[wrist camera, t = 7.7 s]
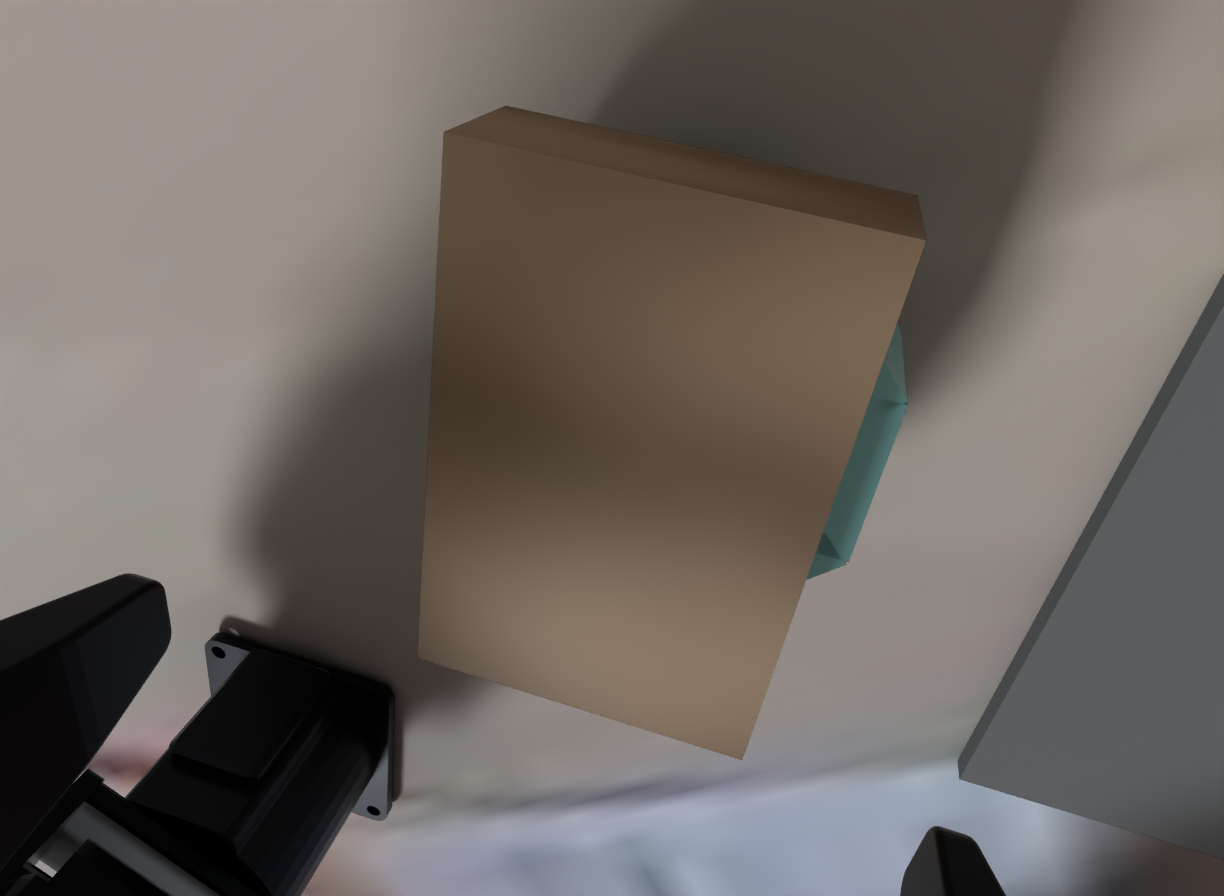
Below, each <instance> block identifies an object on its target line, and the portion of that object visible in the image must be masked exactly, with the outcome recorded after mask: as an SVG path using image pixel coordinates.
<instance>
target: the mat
mask: <svg viewBox="0 0 1224 896" xmlns="http://www.w3.org/2000/svg"><path fill="white" fill-rule="evenodd" d="M958 770H959V779H961V780H964V781H967V782H971V783H974V784H977V785H980V786H984V787H987V788H990V789H994V790H997V791H1000V792H1004V793H1007V794H1010V795H1013V796H1017V797H1020V798H1023V799H1027V800H1030V801H1033V802H1037V803H1040V804H1043V805H1046V806H1050V807H1053V808H1056V809H1060V810H1063V811H1066V812H1069V813H1073V814H1076V815H1079V816H1083V817H1086V818H1089V819H1093V820H1096V821H1099V822H1102V823H1106V824H1109V825H1112V826H1116V827H1119V828H1122V829H1126V830H1129V831H1132V832H1135V833H1139V834H1142V835H1145V836H1149V837H1152V838H1155V839H1158V840H1162V841H1165V842H1168V843H1172V844H1175V845H1178V846H1182V847H1185V848H1188V849H1191V850H1195V851H1198V852H1201V853H1205V854H1208V855H1211V856H1215V857H1218V858H1221V859H1224V275H1223V277H1222V278H1221V280H1220V282H1219V284H1218V286H1217V288H1216V289H1215V291H1214V293H1213V295H1212V297H1211V299H1210V300H1209V302H1208V304H1207V306H1206V308H1205V309H1204V311H1203V313H1202V315H1201V317H1200V319H1199V320H1198V322H1197V324H1196V326H1195V328H1194V330H1193V331H1192V333H1191V335H1190V337H1189V339H1188V341H1187V342H1186V344H1185V346H1184V348H1183V350H1182V352H1181V353H1180V355H1179V357H1178V359H1177V361H1176V363H1175V364H1174V366H1173V368H1172V370H1171V372H1170V374H1169V375H1168V377H1167V379H1166V381H1165V383H1164V385H1163V386H1162V388H1161V390H1160V392H1159V394H1158V395H1157V397H1156V399H1155V401H1154V403H1153V405H1152V406H1151V408H1150V410H1149V412H1148V414H1147V416H1146V417H1145V419H1144V421H1143V423H1142V425H1141V427H1140V428H1139V430H1138V432H1137V434H1136V436H1135V438H1134V439H1133V441H1132V443H1131V445H1130V447H1129V449H1128V450H1127V452H1126V454H1125V456H1124V458H1123V460H1122V461H1121V463H1120V465H1119V467H1118V469H1117V470H1116V472H1115V474H1114V476H1113V478H1112V480H1111V481H1110V483H1109V485H1108V487H1107V489H1106V491H1105V492H1104V494H1103V496H1102V498H1101V500H1100V502H1099V503H1098V505H1097V507H1096V509H1095V511H1094V513H1093V514H1092V516H1091V518H1090V520H1089V522H1088V524H1087V525H1086V527H1085V529H1084V531H1083V533H1082V535H1081V536H1080V538H1079V540H1078V542H1077V544H1076V546H1075V547H1074V549H1073V551H1072V553H1071V555H1070V556H1069V558H1068V560H1067V562H1066V564H1065V566H1064V567H1063V569H1062V571H1061V573H1060V575H1059V577H1058V578H1057V580H1056V582H1055V584H1054V586H1053V588H1052V589H1051V591H1050V593H1049V595H1048V597H1047V599H1046V600H1045V602H1044V604H1043V606H1042V608H1041V610H1040V611H1039V613H1038V615H1037V617H1036V619H1035V621H1034V622H1033V624H1032V626H1031V628H1030V630H1029V632H1028V633H1027V635H1026V637H1025V639H1024V641H1023V642H1022V644H1021V646H1020V648H1019V650H1018V652H1017V653H1016V655H1015V657H1014V659H1013V661H1012V663H1011V664H1010V666H1009V668H1008V670H1007V672H1006V674H1005V675H1004V677H1003V679H1002V681H1001V683H1000V685H999V686H998V688H997V690H996V692H995V694H994V696H993V697H992V699H991V701H990V703H989V705H988V707H987V708H986V710H985V712H984V714H983V716H982V717H981V719H980V721H979V723H978V725H977V727H976V728H975V730H974V732H973V734H972V736H971V738H970V739H969V741H968V743H967V745H966V747H965V749H964V750H963V752H962V754H961V756H960V758H959V760H958Z"/></svg>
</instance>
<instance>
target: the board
mask: <svg viewBox="0 0 1224 896" xmlns="http://www.w3.org/2000/svg"><path fill="white" fill-rule="evenodd" d="M925 243H926V236H925V231H924V226H923V221H922V216H921V211H920V206H919V201H918V196H917V195H912V194H908V193H903V192H899V191H894V190H889V189H885V188H880V187H876V186H871V185H866V184H862V183H857V182H853V181H848V180H844V179H839V178H834V177H830V176H825V175H821V174H816V173H812V172H807V171H802V170H798V169H793V168H789V167H784V166H780V165H775V164H770V163H766V162H761V161H757V160H752V159H747V158H743V157H738V156H734V155H729V154H725V153H720V152H715V151H711V150H706V149H702V148H697V147H693V146H688V145H683V144H679V143H674V142H670V141H665V140H660V139H656V138H651V137H647V136H642V135H638V134H633V133H628V132H624V131H619V130H615V129H610V128H606V127H601V126H596V125H592V124H587V123H583V122H578V121H574V120H569V119H564V118H560V117H555V116H551V115H546V114H541V113H537V112H532V111H528V110H523V109H519V108H514V107H509V106H504V107H502V108H499V109H497V110H495V111H492V112H490V113H488V114H485V115H483V116H481V117H478V118H476V119H473V120H471V121H469V122H466V123H464V124H462V125H459V126H457V127H454V128H452V129H450V130H447V131H445V132H444V138H443V158H442V178H441V198H440V218H439V237H438V257H437V277H436V297H435V317H434V337H433V356H432V376H431V396H430V416H429V436H428V456H427V476H426V495H425V515H424V535H423V555H422V575H421V595H420V615H419V634H418V654H417V658H419V659H422V660H425V661H428V662H431V663H434V664H438V665H441V666H444V667H447V668H450V669H454V670H457V671H460V672H463V673H466V674H469V675H473V676H476V677H479V678H482V679H485V680H489V681H492V682H495V683H498V684H501V685H504V686H508V687H511V688H514V689H517V690H520V691H524V692H527V693H530V694H533V695H536V696H539V697H543V698H546V699H549V700H552V701H555V702H559V703H562V704H565V705H568V706H571V707H574V708H578V709H581V710H584V711H587V712H590V713H594V714H597V715H600V716H603V717H606V718H609V719H613V720H616V721H619V722H622V723H625V724H629V725H632V726H635V727H638V728H641V729H644V730H648V731H651V732H654V733H657V734H660V735H664V736H667V737H670V738H673V739H676V740H679V741H683V742H686V743H689V744H692V745H695V746H699V747H702V748H705V749H708V750H711V751H715V752H718V753H721V754H724V755H727V756H730V757H734V758H737V759H740V760H742V759H743V756H744V753H745V750H746V748H747V745H748V742H749V739H750V736H751V733H752V731H753V728H754V725H755V722H756V719H757V717H758V714H759V711H760V708H761V705H762V702H763V700H764V697H765V694H766V691H767V688H768V686H769V683H770V680H771V677H772V674H773V671H774V669H775V666H776V663H777V660H778V657H779V655H780V652H781V649H782V646H783V643H784V640H785V638H786V635H787V632H788V629H789V626H790V624H791V621H792V618H793V615H794V612H795V609H796V607H797V604H798V601H799V598H800V595H801V593H802V590H803V587H804V584H805V581H806V578H807V576H808V573H809V570H810V567H811V564H812V562H813V559H814V556H815V553H816V550H817V547H818V545H819V542H820V539H821V536H822V533H823V531H824V528H825V525H826V522H827V519H828V516H829V514H830V511H831V508H832V505H833V502H834V500H835V497H836V494H837V491H838V488H839V485H840V483H841V480H842V477H843V474H844V471H845V469H846V466H847V463H848V460H849V457H850V455H851V452H852V449H853V446H854V443H855V440H856V438H857V435H858V432H859V429H860V426H861V424H862V421H863V418H864V415H865V412H866V409H867V407H868V404H869V401H870V398H871V395H872V393H873V390H874V387H875V384H876V381H877V378H878V376H879V373H880V370H881V367H882V364H883V362H884V359H885V356H886V353H887V350H888V347H889V345H890V342H891V339H892V336H893V333H894V331H895V328H896V325H897V322H898V319H899V316H900V314H901V311H902V308H903V305H904V302H905V300H906V297H907V294H908V291H909V288H910V285H911V283H912V280H913V277H914V274H915V271H916V269H917V266H918V263H919V260H920V257H921V254H922V252H923V249H924V246H925Z"/></svg>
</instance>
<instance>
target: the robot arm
mask: <svg viewBox="0 0 1224 896" xmlns="http://www.w3.org/2000/svg"><path fill="white" fill-rule="evenodd" d="M170 639H171V624H170V618H169V612H168V606H167V600H166V594H165V590H164V587H163V586H162V585H161V583H160V582H158V581H156V580H153V579H149V578H146V577H143V576H140V575H137V574H129V573H128V574H122V575H119V576H116V577H114V578H111V579H108V580H106V581H103V582H100V583H98V584H95V585H92V586H90V587H87V588H85V589H82V590H79V591H77V592H74V593H71V594H69V595H66V596H63V597H61V598H58V599H55V600H53V601H50V602H47V603H45V604H42V605H40V606H37V607H34V608H32V609H29V610H26V611H24V612H21V613H18V614H16V615H13V616H10V617H8V618H5V619H2V620H0V896H301V894H302V893H303V891H304V889H305V888H306V886H307V884H308V883H309V881H310V879H311V878H312V876H313V874H314V873H315V871H316V869H317V868H318V866H319V865H320V863H321V861H322V860H323V858H324V856H325V855H326V853H327V851H328V850H329V848H330V846H331V845H332V843H333V841H334V840H335V838H336V836H337V835H338V833H339V831H340V830H341V828H342V826H343V825H344V823H345V821H346V820H347V818H348V816H349V815H350V813H351V812H352V813H355V814H358V815H361V816H364V817H367V818H370V819H373V820H377V821H381V820H384V819H386V817H387V815H388V813H389V812H390V810H391V807H392V789H393V751H394V714H395V696H394V693H393V691H392V690H391V689H390V688H389V687H388V686H387V685H385V684H383V683H381V682H377V681H374V680H371V679H368V678H365V677H362V676H359V675H355V674H352V673H349V672H346V671H343V670H340V669H336V668H333V667H330V666H327V665H324V664H321V663H318V662H314V661H311V660H308V659H305V658H302V657H299V656H295V655H292V654H289V653H286V652H283V651H280V650H277V649H273V648H270V647H267V646H264V645H261V644H258V643H254V642H251V641H248V640H245V639H242V638H239V637H235V636H232V635H229V634H226V633H221V632H219V633H216V634H215V635H214V636H213V637H212V638H211V639H210V640H209V641H208V642H207V643H206V644H205V653H206V661H207V668H208V676H209V683H210V691H211V697H210V698H209V699H208V700H207V702H206V703H205V704H204V705H203V706H202V707H201V708H200V709H199V711H198V712H197V713H196V714H195V715H194V716H193V717H192V719H191V720H190V721H189V722H188V723H187V724H186V725H185V726H184V728H183V729H182V730H181V731H180V732H179V733H178V734H177V736H176V737H175V738H174V739H173V740H172V741H171V743H170V745H169V748H168V749H167V750H166V751H165V753H164V754H163V755H162V756H161V757H160V758H159V759H158V760H157V762H156V763H155V764H154V765H153V766H152V767H151V768H150V770H149V771H148V772H147V773H146V774H145V775H144V776H143V778H142V779H141V780H140V781H139V782H138V783H137V784H136V785H135V787H134V788H133V789H132V790H131V791H130V792H129V793H128V795H127V796H126V797H125V798H124V797H122V796H121V795H120V794H118V793H117V792H115V791H114V790H112V789H111V788H110V787H108V786H107V785H105V784H104V783H103V781H104V780H105V779H104V778H102V777H101V776H99V775H98V774H96V773H95V772H94V771H92V770H91V769H89V768H88V769H87V770H86V771H85V772H84V773H83V774H82V775H81V776H80V777H79V778H78V776H79V775H80V774H81V773H82V771H83V770H84V769H85V768H86V766H87V765H88V764H89V763H90V761H91V760H92V758H93V757H94V756H95V754H96V753H97V752H98V750H99V749H100V747H101V746H102V745H103V743H104V742H105V740H106V739H107V737H108V736H109V734H110V733H111V731H112V730H113V728H114V727H115V726H116V724H117V723H118V721H119V720H120V718H121V717H122V715H123V714H124V712H125V711H126V709H127V708H128V706H129V705H130V703H131V702H132V700H133V699H134V698H135V696H136V695H137V693H138V692H139V690H140V689H141V687H142V686H143V684H144V683H145V681H146V680H147V678H148V677H149V675H150V674H151V673H152V671H153V670H154V668H155V667H156V665H157V664H158V662H159V661H160V659H161V658H162V656H163V655H164V653H165V652H166V650H167V648H168V645H169V643H170ZM77 778H78V779H77ZM76 779H77V780H76ZM75 780H76V781H75ZM74 781H75V782H74ZM39 860H41V861H42V862H44V863H45V864H47V865H48V866H50V867H51V868H52V869H54V870H55V871H57V873H56V874H55V875H54V876H53V877H51V876H49V875H48V874H46V873H45V872H43V871H42V870H40V869H39V868H37V867H36V866H35V865H36V863H37V862H38V861H39ZM900 896H1006V895H1005V893H1004V891H1003V889H1002V888H1001V886H1000V884H999V882H998V880H997V879H996V877H995V875H994V873H993V871H992V870H991V868H990V866H989V864H988V862H987V861H986V859H985V857H984V855H983V853H982V851H981V850H980V848H979V846H978V845H977V843H976V842H975V841H974V840H973V839H972V838H971V837H969V836H967V835H965V834H962V833H959V832H955V831H952V830H949V829H946V828H943V827H940V826H934V827H932V828H930V829H929V830H928V832H927V833H926V835H925V836H924V838H923V840H922V842H921V844H920V845H919V847H918V849H917V851H916V853H915V854H914V856H913V858H912V860H911V862H910V863H909V865H908V867H907V869H906V871H905V874H904V877H903V881H902V886H901V894H900Z"/></svg>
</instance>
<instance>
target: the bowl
mask: <svg viewBox="0 0 1224 896" xmlns="http://www.w3.org/2000/svg"><path fill="white" fill-rule="evenodd" d="M907 406H908V403H907V391H906V380H905V368H904V357H903V345H902V334H901V330H900V328H899V326H898V325H896V328H895V331H894V333H893V336H892V339H891V342H890V345H889V347H888V350H887V353H886V356H885V359H884V362H883V364H882V367H881V370H880V373H879V376H878V378H877V381H876V384H875V387H874V390H873V393H872V395H871V398H870V401H869V404H868V407H867V409H866V412H865V415H864V418H863V421H862V424H861V426H860V429H859V432H858V435H857V438H856V440H855V443H854V446H853V449H852V452H851V455H850V457H849V460H848V463H847V466H846V469H845V471H844V474H843V477H842V480H841V483H840V485H839V488H838V491H837V494H836V497H835V500H834V502H833V505H832V508H831V511H830V514H829V516H828V519H827V522H826V525H825V528H824V531H823V533H822V536H821V539H820V542H819V545H818V547H817V550H816V553H815V556H814V559H813V562H812V564H811V567H810V570H809V573H808V576H807V578H806V580H807V579H810V578H812V577H815V576H818V575H820V574H823V573H825V572H828V571H830V570H833V569H836V568H838V567H841V566H843V565H846V562H849V560H850V557H851V554H852V552H853V549H854V546H855V544H856V541H857V538H858V536H859V533H860V530H861V528H862V525H863V522H864V520H865V517H866V514H867V512H868V509H869V507H870V504H871V501H872V499H873V496H874V493H875V491H876V488H877V485H878V483H879V480H880V477H881V475H882V472H883V469H884V467H885V464H886V461H887V459H888V456H889V453H890V451H891V448H892V446H893V443H894V440H895V438H896V435H897V432H898V430H899V427H900V424H901V422H902V419H903V416H904V414H905V411H906V408H907Z"/></svg>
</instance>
